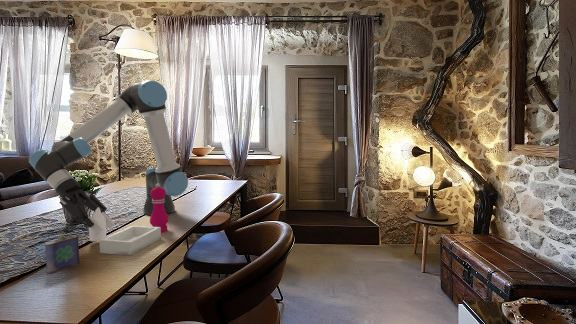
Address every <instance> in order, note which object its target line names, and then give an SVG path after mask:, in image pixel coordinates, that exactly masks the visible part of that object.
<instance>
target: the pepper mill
mask: <svg viewBox="0 0 576 324" xmlns="http://www.w3.org/2000/svg"><path fill="white" fill-rule="evenodd" d="M150 195H151V197H152V198H153V199H152V203H153V212H152V215H150V218H149V224H150V225H151V227H161V234H162V233H165V232H167V231H168V225H167V224H168V223H169V215H168V214H166V212H165V209H164V202H165V199H164V197H165V195H166V191H165V189H164V188H162V187H160V184H159V183H157V184H156V187H155V188H153V189H152V190H151V192H150Z"/></svg>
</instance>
